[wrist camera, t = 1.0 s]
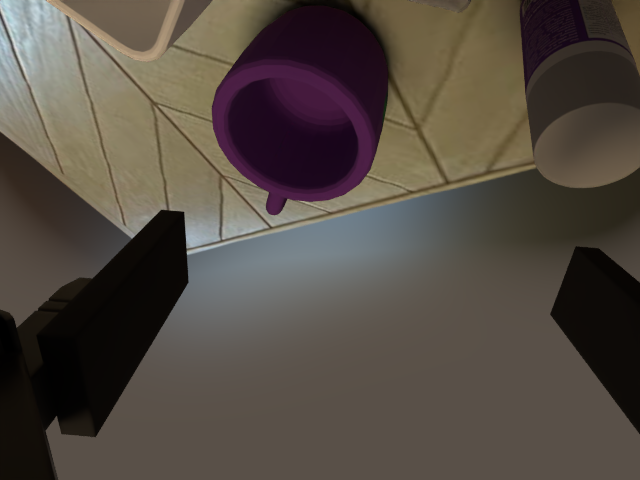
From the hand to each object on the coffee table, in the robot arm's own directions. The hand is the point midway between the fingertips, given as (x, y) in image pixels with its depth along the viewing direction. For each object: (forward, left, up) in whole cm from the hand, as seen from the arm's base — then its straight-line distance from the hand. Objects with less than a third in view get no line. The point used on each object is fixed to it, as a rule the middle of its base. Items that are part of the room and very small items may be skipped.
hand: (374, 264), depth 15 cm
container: (-2, +8, -23) cm, 25 cm away
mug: (+10, -6, -23) cm, 26 cm away
